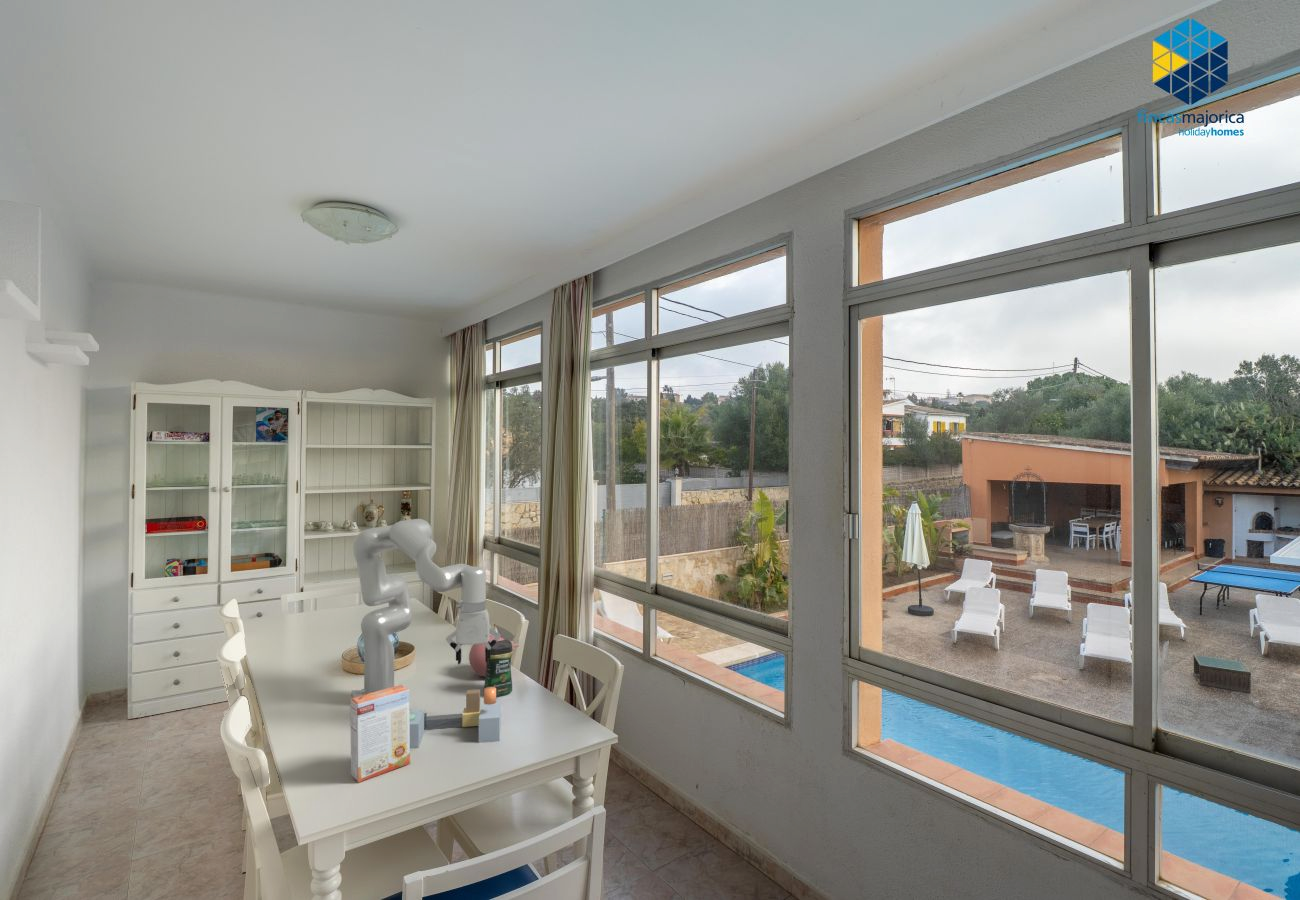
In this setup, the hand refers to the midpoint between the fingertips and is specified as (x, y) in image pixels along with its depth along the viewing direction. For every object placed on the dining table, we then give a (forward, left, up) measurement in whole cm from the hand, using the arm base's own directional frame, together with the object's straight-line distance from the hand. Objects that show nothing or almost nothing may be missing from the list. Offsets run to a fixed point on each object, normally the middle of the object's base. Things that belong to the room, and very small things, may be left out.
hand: (473, 661), depth 196 cm
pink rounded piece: (+5, +43, -20) cm, 48 cm away
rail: (-5, 0, -20) cm, 21 cm away
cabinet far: (+6, -8, -20) cm, 22 cm away
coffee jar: (+7, +24, -20) cm, 32 cm away
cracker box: (-22, -24, -20) cm, 38 cm away
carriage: (0, 0, -20) cm, 20 cm away
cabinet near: (-18, -8, -20) cm, 28 cm away
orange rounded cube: (+6, -9, -10) cm, 15 cm away
